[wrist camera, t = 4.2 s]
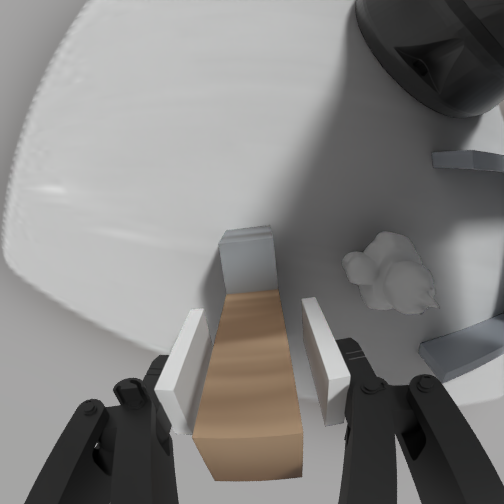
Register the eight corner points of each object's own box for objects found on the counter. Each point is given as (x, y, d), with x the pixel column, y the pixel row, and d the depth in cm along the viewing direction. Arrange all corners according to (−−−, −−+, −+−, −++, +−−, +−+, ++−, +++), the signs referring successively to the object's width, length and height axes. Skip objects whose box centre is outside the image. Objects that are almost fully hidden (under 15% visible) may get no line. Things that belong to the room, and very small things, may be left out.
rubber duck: (396, 298, 20) (447, 351, 12) (324, 288, 20) (358, 350, 12) (415, 235, 19) (481, 266, 11) (341, 217, 18) (394, 244, 11)
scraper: (226, 230, 19) (157, 355, 5) (269, 225, 19) (302, 346, 5) (243, 341, 21) (230, 505, 8) (280, 337, 21) (300, 502, 7)
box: (431, 152, 17) (472, 150, 12) (522, 164, 16) (554, 167, 11) (418, 353, 21) (442, 383, 17) (507, 318, 21) (530, 336, 16)
